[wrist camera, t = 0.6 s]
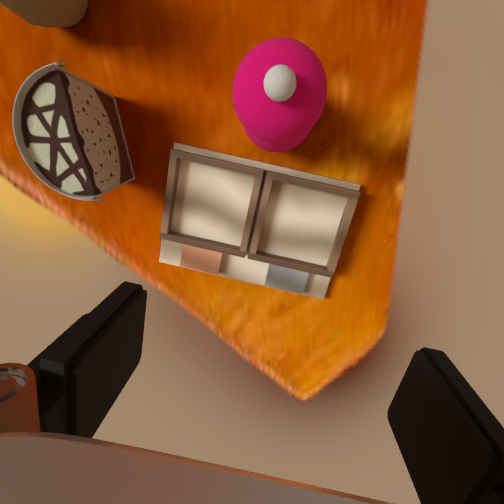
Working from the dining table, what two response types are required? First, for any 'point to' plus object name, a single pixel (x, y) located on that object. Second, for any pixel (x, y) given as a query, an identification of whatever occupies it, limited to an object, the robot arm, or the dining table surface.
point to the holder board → (254, 220)
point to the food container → (71, 134)
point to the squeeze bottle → (48, 11)
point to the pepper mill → (279, 93)
